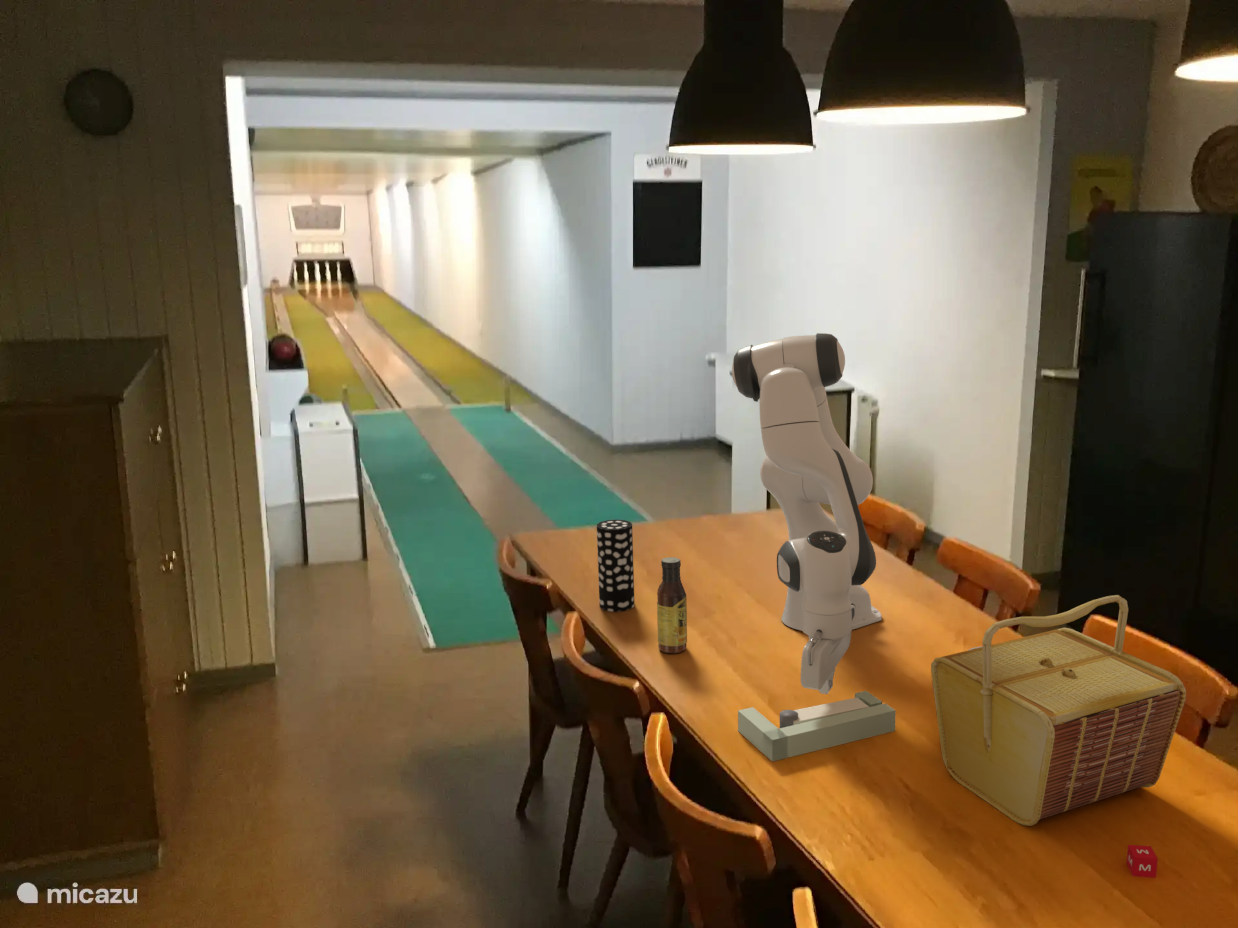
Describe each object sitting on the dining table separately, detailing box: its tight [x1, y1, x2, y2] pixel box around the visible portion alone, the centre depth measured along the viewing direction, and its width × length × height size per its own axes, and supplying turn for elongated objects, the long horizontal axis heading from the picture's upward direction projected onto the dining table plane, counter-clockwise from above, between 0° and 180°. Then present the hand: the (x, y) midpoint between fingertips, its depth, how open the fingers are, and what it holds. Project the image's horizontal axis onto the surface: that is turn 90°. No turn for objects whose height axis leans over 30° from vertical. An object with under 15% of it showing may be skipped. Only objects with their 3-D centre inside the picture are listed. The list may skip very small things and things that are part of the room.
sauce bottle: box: [656, 556, 688, 654], centre depth 225 cm, size 6×6×20 cm
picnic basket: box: [930, 594, 1187, 827], centre depth 167 cm, size 29×26×30 cm
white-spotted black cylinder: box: [596, 519, 635, 613], centre depth 251 cm, size 8×8×20 cm
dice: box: [1126, 844, 1159, 879], centre depth 148 cm, size 3×3×3 cm
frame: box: [737, 690, 897, 762], centre depth 190 cm, size 25×12×4 cm, turn 112°
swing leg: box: [779, 697, 869, 729], centre depth 190 cm, size 17×4×4 cm, turn 109°
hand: (825, 690), depth 197 cm, fingers closed
